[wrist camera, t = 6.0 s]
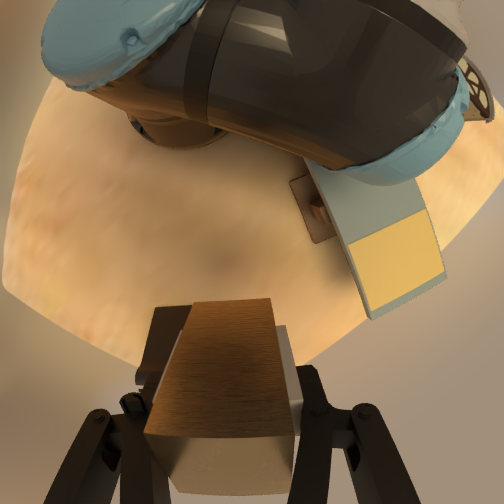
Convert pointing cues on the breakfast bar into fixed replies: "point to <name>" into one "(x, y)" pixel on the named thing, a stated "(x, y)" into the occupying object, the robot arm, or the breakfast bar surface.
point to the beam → (382, 238)
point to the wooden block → (225, 404)
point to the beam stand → (313, 209)
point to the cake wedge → (476, 93)
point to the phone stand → (161, 340)
